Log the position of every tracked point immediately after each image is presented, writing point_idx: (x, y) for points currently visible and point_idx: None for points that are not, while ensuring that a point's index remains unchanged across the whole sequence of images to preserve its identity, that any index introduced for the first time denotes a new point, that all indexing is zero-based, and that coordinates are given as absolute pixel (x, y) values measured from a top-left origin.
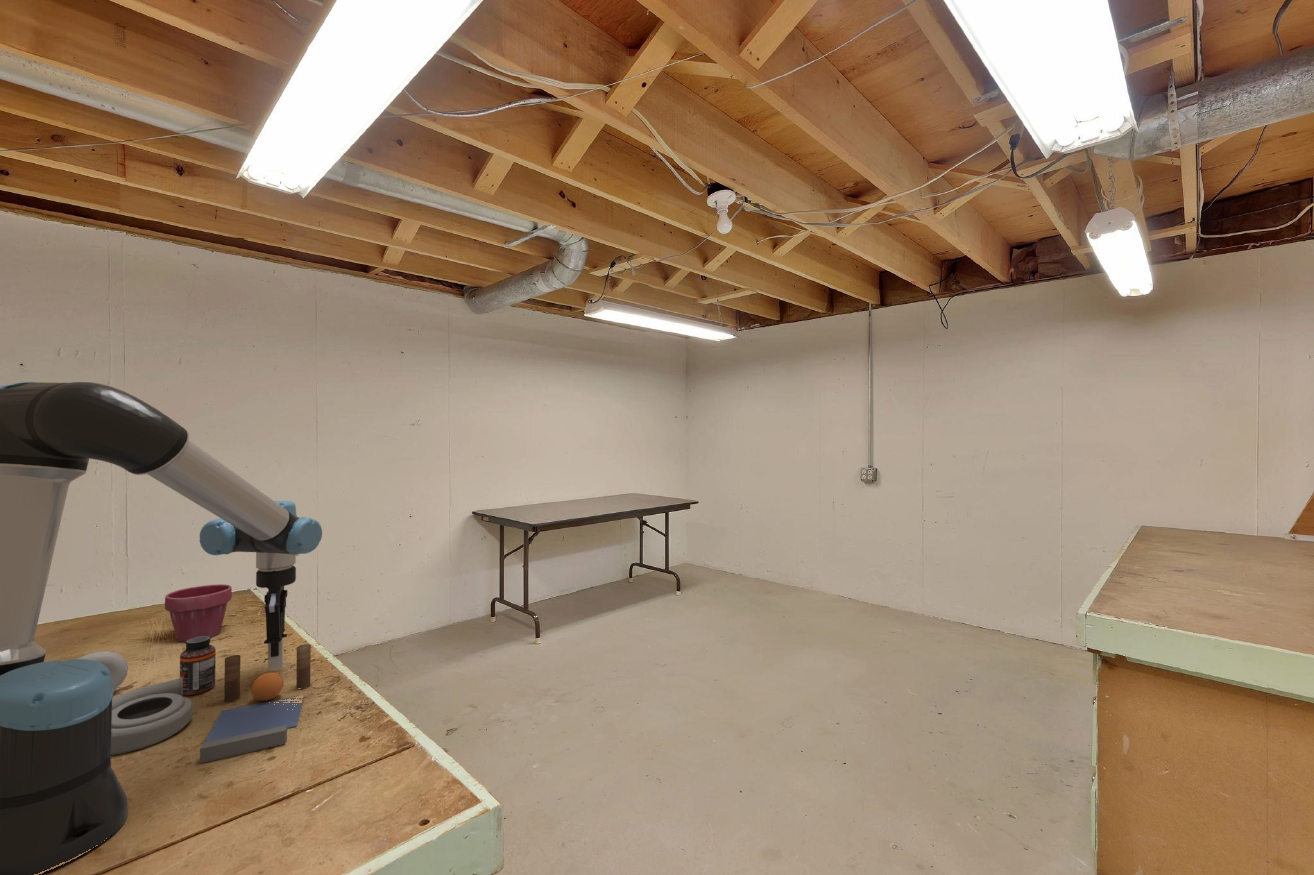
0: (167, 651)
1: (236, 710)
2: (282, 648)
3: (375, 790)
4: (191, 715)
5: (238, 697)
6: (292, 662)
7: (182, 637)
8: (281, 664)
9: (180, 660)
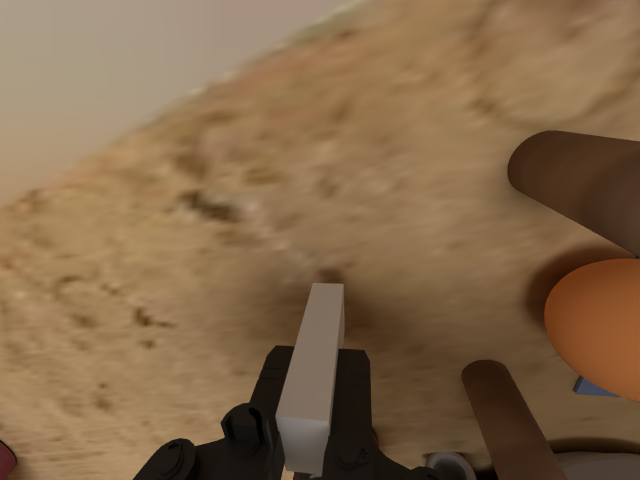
0: (70, 476)
1: None
2: (326, 361)
3: None
4: (626, 465)
5: (504, 369)
6: (197, 243)
7: (6, 476)
8: (341, 298)
9: None
